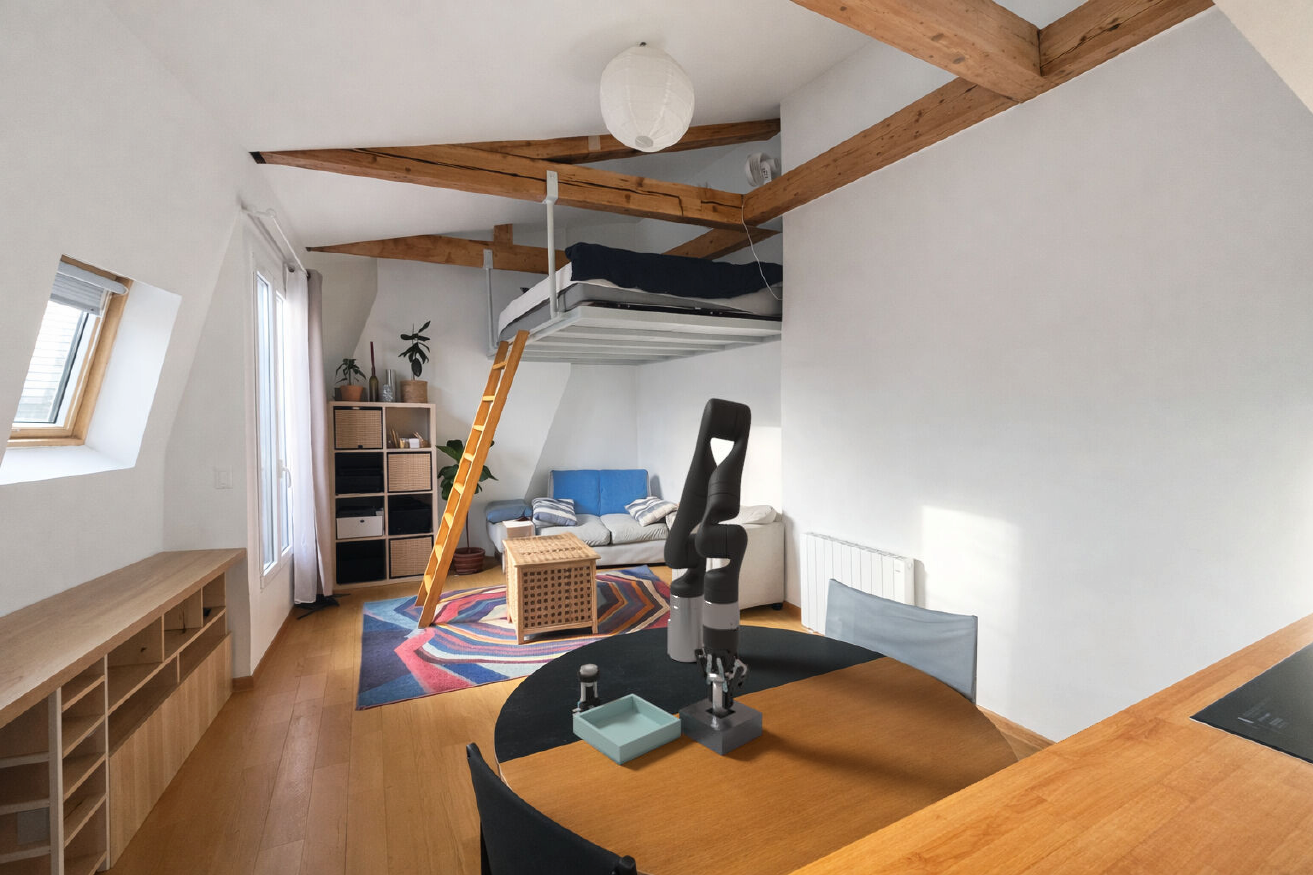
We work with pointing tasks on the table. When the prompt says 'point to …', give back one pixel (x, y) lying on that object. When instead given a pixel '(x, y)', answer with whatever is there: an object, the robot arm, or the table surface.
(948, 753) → the table surface
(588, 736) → the tray
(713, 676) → the steel pin
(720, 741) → the hitch block
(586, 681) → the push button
